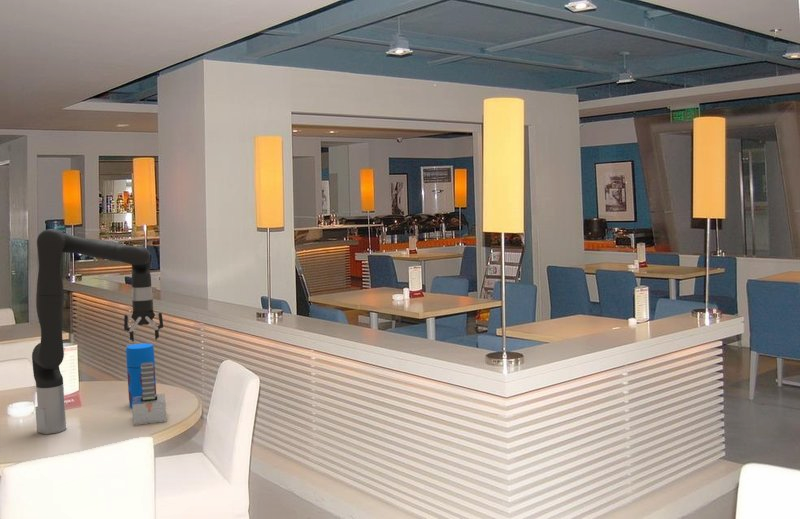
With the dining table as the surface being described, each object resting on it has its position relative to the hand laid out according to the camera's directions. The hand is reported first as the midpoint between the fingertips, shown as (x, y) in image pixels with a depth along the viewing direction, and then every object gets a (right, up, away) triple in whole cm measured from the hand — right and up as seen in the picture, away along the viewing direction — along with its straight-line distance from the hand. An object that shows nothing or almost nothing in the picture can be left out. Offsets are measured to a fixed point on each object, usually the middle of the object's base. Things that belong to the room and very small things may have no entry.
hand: (144, 340), depth 302 cm
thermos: (-8, -30, +22) cm, 38 cm away
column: (+1, -25, +2) cm, 25 cm away
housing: (+1, -31, +3) cm, 31 cm away
